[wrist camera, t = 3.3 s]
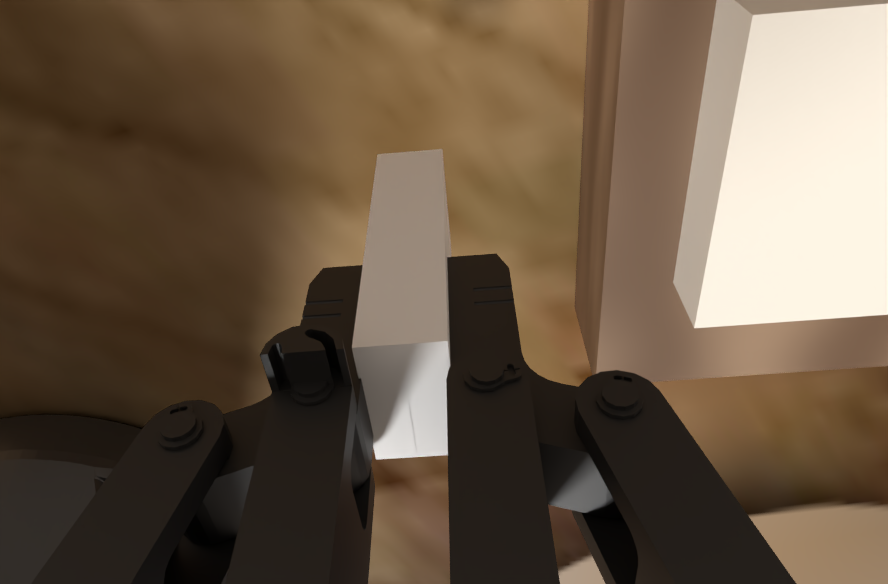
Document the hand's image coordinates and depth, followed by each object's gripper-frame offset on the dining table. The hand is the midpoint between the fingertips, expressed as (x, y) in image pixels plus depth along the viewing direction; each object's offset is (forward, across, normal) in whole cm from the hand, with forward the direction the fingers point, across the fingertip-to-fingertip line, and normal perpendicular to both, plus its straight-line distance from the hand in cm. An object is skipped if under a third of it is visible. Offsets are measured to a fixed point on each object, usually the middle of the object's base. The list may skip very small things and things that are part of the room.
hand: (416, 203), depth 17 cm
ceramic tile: (+1, -11, 0) cm, 11 cm away
